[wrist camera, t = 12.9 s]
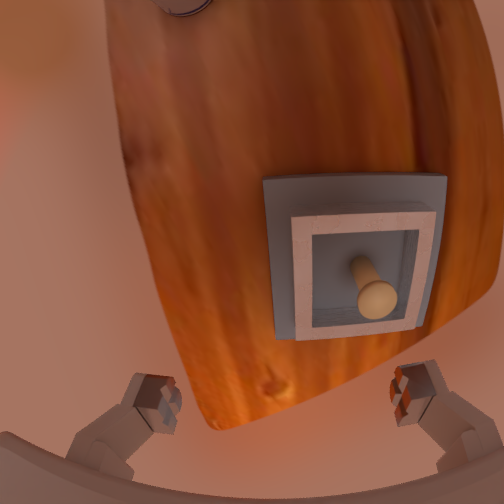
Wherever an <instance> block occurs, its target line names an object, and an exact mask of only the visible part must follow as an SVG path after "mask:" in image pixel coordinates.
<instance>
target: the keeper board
mask: <svg viewBox="0 0 504 504" xmlns="http://www.w3.org/2000/svg"><path fill="white" fill-rule="evenodd" d="M446 189H447V176H445V175H443V174H441V173H418V172H348V173H318V174H297V175H280V176H266V177H263V190H264V201H265V212H266V223H267V235H268V246H269V258H270V270H271V283H272V295H273V308H274V322H275V335H276V340H283V339H296V336H295V316H294V284H293V259H292V239H291V220H290V206H302V205H321V204H343V203H372V202H424V203H425V204H427V205H428V206H429V207H431V208H432V209H434V210H435V211H436V220H435V228H434V236H433V243H432V249H431V255H430V261H429V267H428V272H427V278H426V283H425V287H424V292H423V297H422V301H421V305H420V309H419V314H418V317H417V321H416V325H415V327H418V326H422V324H423V321H424V317H425V313H426V310H427V306H428V302H429V297H430V293H431V289H432V284H433V280H434V275H435V270H436V264H437V259H438V253H439V247H440V241H441V234H442V227H443V219H444V211H445V201H446ZM405 234H406V230H392V231H371V232H352V233H333V234H315V235H312V310H314V309H329V308H342V307H354V306H358V308H359V311H360V313H361V314H362V315H363V316H364V317H366V318H368V319H379V318H382V317H385V316H386V315H388V314H389V313H390V312H391V311H392V310H393V309H394V307H395V306H396V303H397V293H398V287H399V280H400V274H401V267H402V260H403V252H404V244H405Z"/></svg>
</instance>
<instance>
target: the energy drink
mask: <svg viewBox="0 0 504 504" xmlns="http://www.w3.org/2000/svg"><path fill="white" fill-rule="evenodd" d="M151 1H153V2H154V3H155V4H156V5H158V6H159V7H160V8H161V9H163V10H164V11H165V12H167V13H168V14H171V15H174V16H187V15H191V14H194V13H197V12H198V11H200V10H202V9H203V8H205V7H206V6H207V5H208V4H209V3H210V1H211V0H151Z"/></svg>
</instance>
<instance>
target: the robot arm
mask: <svg viewBox="0 0 504 504" xmlns="http://www.w3.org/2000/svg"><path fill="white" fill-rule="evenodd" d="M394 373H395V378H394V379H393V380H392V381H391V384H390V399H391V402H392V404H393V405H395V406H396V407H397V408H396V410H395V412H394V414H395V418H396V422H397V426H398V427H400V426H405V425H411V424H415V423H418V425H420V427H421V428H422V429H423V430H424V431H425V432H426V433H427V434H428V435H430V436H431V438H432V439H433V440H435V442H436V443H438V445H439V446H440V447H441V448H443V450H444V451H445V452H446V453H445V454H444V455H443V456H442V457H441V458H440V459H439V460H438V462H437V463H436V465H437V470H438V473H437V474H434V475H431V476H428V477H424V478H421V479H417V480H413V481H410V482H406V483H402V484H398V485H394V486H389V487H384V488H379V489H374V490H368V491H363V492H356V493H350V494H342V495H334V496H324V497H312V498H296V499H295V498H294V499H252V498H233V497H221V496H210V495H203V494H195V493H188V492H182V491H176V490H171V489H165V488H160V487H156V486H151V485H147V484H143V483H138V482H134V481H132V478H133V475H134V470H133V469H132V468H131V467H130V466H129V465H128V464H127V463H126V462H125V461H126V460H127V459H128V458H129V457H130V456H131V455H132V454H133V453H134V452H135V451H136V450H137V449H138V448H139V447H140V446H141V445H142V444H143V443H144V442H145V441H147V440H148V438H150V437H151V435H153V432H157V433H164V434H165V433H166V434H174V431H175V427H176V424H177V419H176V417H175V415H176V414H177V413H179V412H180V409H181V405H182V397H181V393H180V390H179V389H178V388H176V387H175V383H176V382H175V380H174V378H173V377H169V376H160V375H151V374H142V373H135V374H134V375H133V377H132V379H131V381H130V383H129V386H128V388H127V390H126V392H125V395H124V397H123V399H122V401H121V404H117V405H115V406H114V407H112V408H111V409H110V410H108V411H107V412H106V413H104V414H103V415H101V416H100V417H99V418H97V419H96V420H95V421H93V422H92V423H91V424H89V425H88V426H87V427H85V428H83V429H82V430H81V431H79V432H78V433H76V435H75V438H74V440H73V442H72V444H71V447H70V449H69V451H68V453H67V455H66V458H63V457H60V456H58V455H55V454H53V453H51V452H49V451H46V450H44V449H42V448H40V447H38V446H35V445H34V444H32V443H30V442H28V441H26V440H24V439H22V438H20V437H18V436H16V435H14V434H13V433H11V432H8V431H5V432H1V433H0V504H504V446H503V443H502V441H501V438H500V435H499V433H498V430H497V428H496V425H495V422H494V420H493V419H491V418H490V417H489V416H487V415H486V414H484V413H483V412H482V411H480V410H479V409H477V408H476V407H474V406H473V405H472V404H470V403H469V402H467V401H466V400H464V399H463V398H462V397H460V396H459V395H457V394H456V393H454V392H453V391H451V392H449V390H448V387H447V385H446V383H445V380H444V378H443V376H442V373H441V371H440V369H439V367H438V365H437V363H436V361H435V360H429V361H424V362H417V363H412V364H407V365H402V366H398V367H397V368H396V369H395V372H394Z"/></svg>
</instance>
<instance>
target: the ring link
mask: <svg viewBox="0 0 504 504" xmlns="http://www.w3.org/2000/svg"><path fill="white" fill-rule="evenodd" d="M290 220H291V239H292V259H293V284H294V316H295V336H296V341H300V340H316V339H329V338H341V337H352V336H362V335H371V334H379V333H388V332H395V331H403V330H410V329H415V325H416V321H417V317H418V314H419V309H420V305H421V301H422V297H423V292H424V287H425V283H426V278H427V272H428V267H429V261H430V255H431V249H432V243H433V236H434V228H435V220H436V211H435V210H434V209H432V208H431V207H429V206H428V205H427V204H425V203H424V202H372V203H343V204H321V205H302V206H290ZM392 230H406V234H405V244H404V252H403V260H402V267H401V274H400V280H399V287H398V293H397V303H396V306H395V307H394V309H393V310H392V311H391V312H390V313H389V314H388V315H386V316H385V317H382V318H379V319H368V318H366V317H364V316H363V315H362V314H361V313H360V311H359V308H358V306H354V307H342V308H329V309H314V310H312V235H315V234H333V233H352V232H371V231H392Z"/></svg>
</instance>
